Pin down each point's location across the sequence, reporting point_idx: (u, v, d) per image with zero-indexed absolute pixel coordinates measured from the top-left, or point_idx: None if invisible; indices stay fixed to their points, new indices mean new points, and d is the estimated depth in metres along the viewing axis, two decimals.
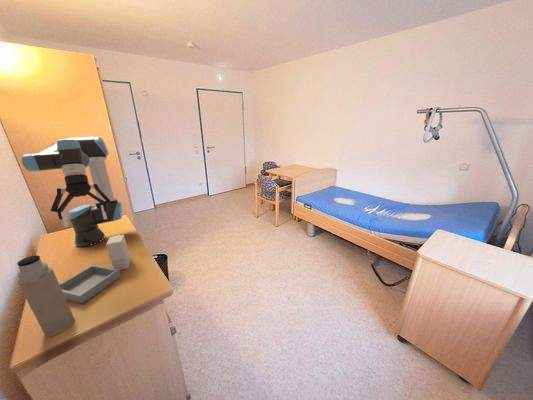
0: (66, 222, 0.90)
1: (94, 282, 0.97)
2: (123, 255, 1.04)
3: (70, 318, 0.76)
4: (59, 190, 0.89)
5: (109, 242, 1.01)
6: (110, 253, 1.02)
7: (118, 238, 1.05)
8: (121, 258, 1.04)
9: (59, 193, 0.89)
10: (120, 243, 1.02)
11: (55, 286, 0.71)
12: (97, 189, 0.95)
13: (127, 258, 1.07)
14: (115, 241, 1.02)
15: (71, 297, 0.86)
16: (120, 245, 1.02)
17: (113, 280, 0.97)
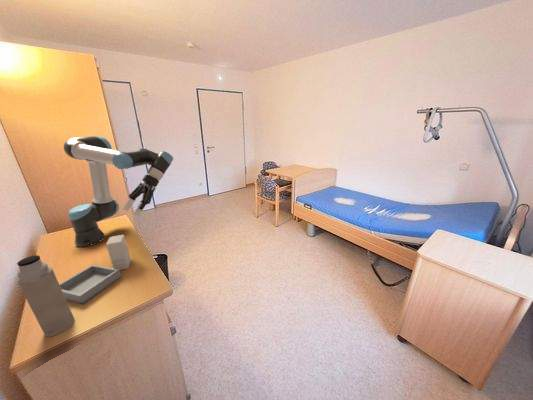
0: None
1: (94, 282, 0.97)
2: (123, 255, 1.04)
3: (70, 318, 0.76)
4: None
5: (109, 242, 1.01)
6: (110, 253, 1.02)
7: (118, 238, 1.05)
8: (121, 258, 1.04)
9: None
10: (120, 243, 1.02)
11: (55, 286, 0.71)
12: None
13: (127, 258, 1.07)
14: (115, 241, 1.02)
15: (71, 297, 0.86)
16: (120, 245, 1.02)
17: (113, 280, 0.97)
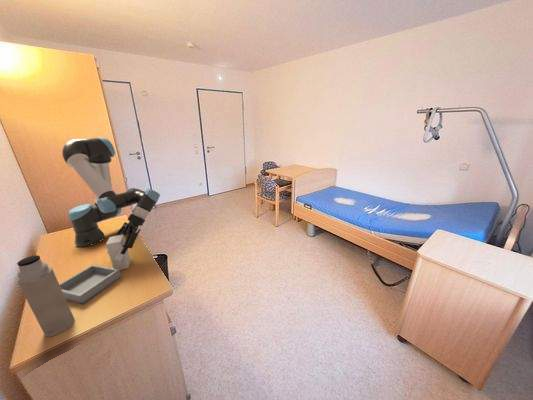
0: None
1: (94, 282, 0.97)
2: None
3: (70, 318, 0.76)
4: None
5: (109, 242, 1.01)
6: (110, 253, 1.02)
7: (118, 238, 1.05)
8: None
9: None
10: (120, 243, 1.02)
11: (55, 286, 0.71)
12: None
13: (127, 258, 1.07)
14: (115, 241, 1.02)
15: (71, 297, 0.86)
16: (120, 245, 1.02)
17: (113, 280, 0.97)
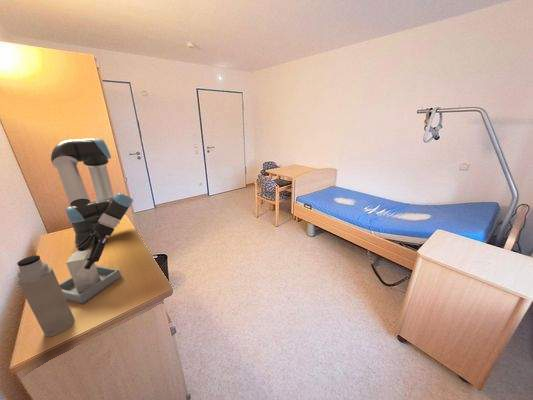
0: None
1: None
2: (88, 274, 0.90)
3: (70, 318, 0.76)
4: None
5: (70, 260, 0.87)
6: (72, 272, 0.87)
7: (82, 254, 0.90)
8: (86, 277, 0.90)
9: None
10: (83, 261, 0.88)
11: (55, 286, 0.71)
12: None
13: (94, 277, 0.93)
14: (78, 258, 0.88)
15: (71, 297, 0.86)
16: None
17: (113, 280, 0.97)
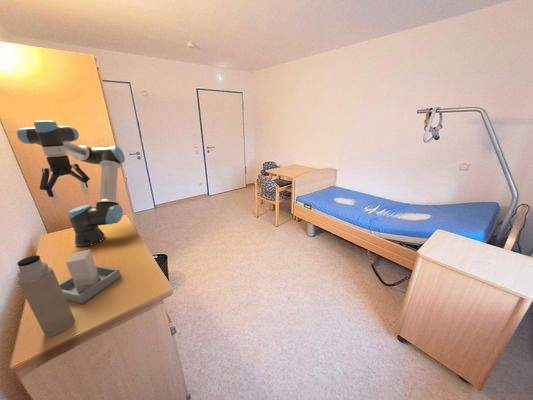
0: None
1: None
2: (88, 274, 0.90)
3: (70, 318, 0.76)
4: (47, 170, 0.96)
5: (70, 260, 0.87)
6: (72, 272, 0.87)
7: (82, 254, 0.90)
8: (86, 277, 0.90)
9: (47, 173, 0.96)
10: (83, 261, 0.88)
11: (55, 286, 0.71)
12: (79, 168, 1.08)
13: (94, 277, 0.93)
14: (78, 258, 0.88)
15: (71, 297, 0.86)
16: (84, 263, 0.88)
17: (113, 280, 0.97)
